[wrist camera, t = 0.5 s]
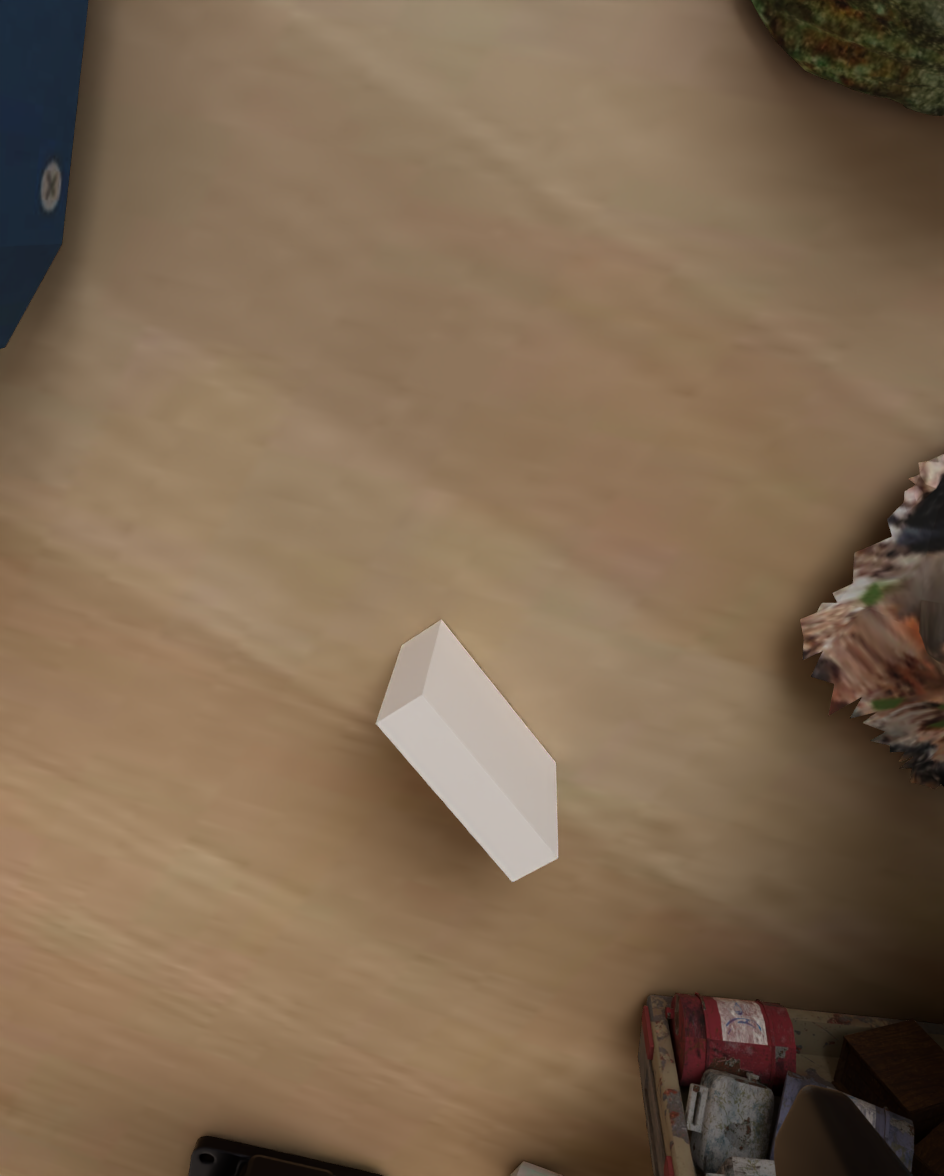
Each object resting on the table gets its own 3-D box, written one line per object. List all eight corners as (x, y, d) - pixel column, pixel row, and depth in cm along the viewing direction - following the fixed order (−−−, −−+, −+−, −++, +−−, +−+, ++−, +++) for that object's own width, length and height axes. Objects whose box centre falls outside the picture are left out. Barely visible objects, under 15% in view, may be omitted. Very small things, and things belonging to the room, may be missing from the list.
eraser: (442, 617, 21) (421, 695, 18) (557, 761, 22) (559, 859, 19) (400, 643, 21) (373, 724, 18) (517, 783, 23) (512, 884, 19)
